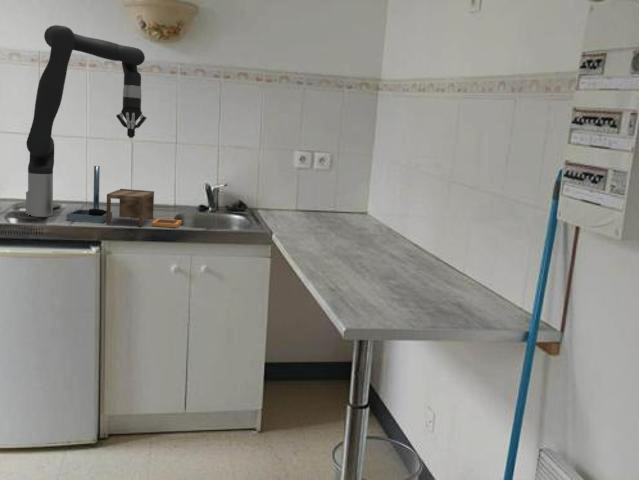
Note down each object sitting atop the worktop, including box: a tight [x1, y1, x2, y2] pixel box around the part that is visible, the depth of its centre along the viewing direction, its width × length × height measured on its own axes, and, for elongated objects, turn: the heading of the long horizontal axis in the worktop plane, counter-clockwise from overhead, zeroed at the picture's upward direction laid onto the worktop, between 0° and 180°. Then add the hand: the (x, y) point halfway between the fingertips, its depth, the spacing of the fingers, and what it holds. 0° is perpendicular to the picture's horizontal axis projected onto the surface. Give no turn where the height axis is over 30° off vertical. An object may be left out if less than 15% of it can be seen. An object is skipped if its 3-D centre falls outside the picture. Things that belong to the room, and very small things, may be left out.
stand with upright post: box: [65, 165, 113, 223], centre depth 271 cm, size 14×16×21 cm
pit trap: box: [151, 218, 183, 229], centre depth 273 cm, size 10×11×2 cm
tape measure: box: [88, 208, 107, 216], centre depth 273 cm, size 7×7×4 cm
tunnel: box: [105, 188, 155, 228], centre depth 272 cm, size 14×20×12 cm
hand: (131, 137), depth 288 cm, fingers closed
